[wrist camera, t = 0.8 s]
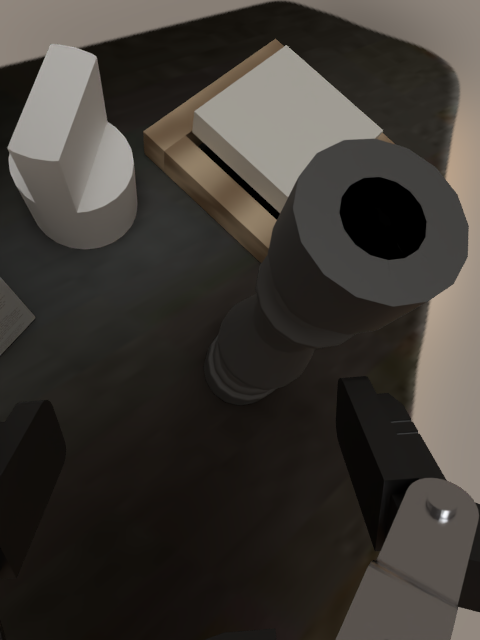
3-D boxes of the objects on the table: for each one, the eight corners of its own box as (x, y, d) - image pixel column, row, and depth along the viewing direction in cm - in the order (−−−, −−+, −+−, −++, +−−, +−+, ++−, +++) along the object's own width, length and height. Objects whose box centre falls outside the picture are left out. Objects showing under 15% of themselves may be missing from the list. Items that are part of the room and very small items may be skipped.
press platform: (192, 132, 38) (194, 111, 36) (279, 67, 42) (286, 45, 40) (290, 223, 37) (299, 207, 35) (370, 148, 41) (383, 130, 39)
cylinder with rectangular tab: (123, 259, 38) (107, 177, 26) (17, 235, 37) (-48, 138, 25) (147, 174, 40) (142, 66, 29) (49, 149, 39) (4, 27, 28)
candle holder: (260, 417, 36) (453, 351, 12) (191, 386, 35) (252, 257, 12) (286, 350, 38) (493, 183, 14) (221, 321, 38) (323, 100, 14)
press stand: (144, 153, 41) (143, 131, 38) (268, 63, 47) (275, 38, 44) (283, 283, 40) (292, 270, 37) (393, 174, 45) (408, 155, 43)
